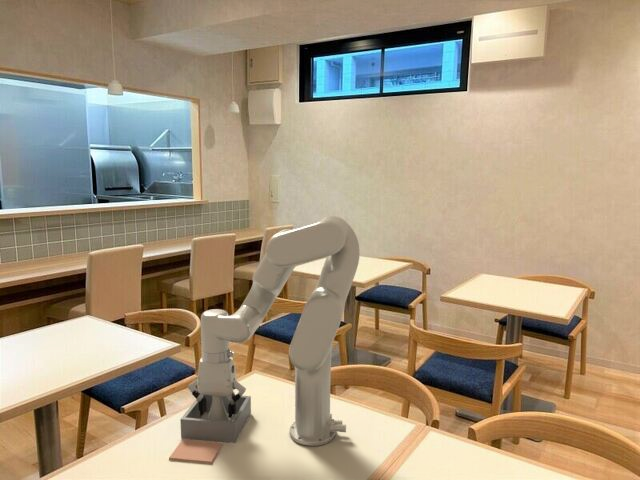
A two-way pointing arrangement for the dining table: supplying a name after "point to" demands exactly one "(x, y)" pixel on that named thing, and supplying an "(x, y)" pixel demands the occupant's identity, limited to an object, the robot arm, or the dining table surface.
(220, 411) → the flask
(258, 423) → the dining table surface
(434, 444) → the dining table surface
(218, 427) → the box frame
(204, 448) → the mat
